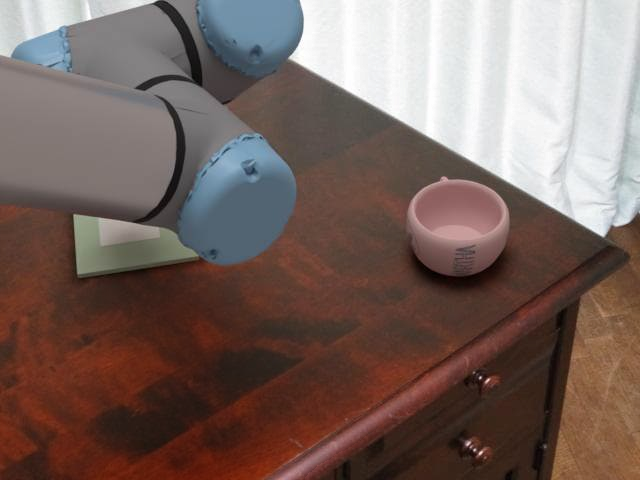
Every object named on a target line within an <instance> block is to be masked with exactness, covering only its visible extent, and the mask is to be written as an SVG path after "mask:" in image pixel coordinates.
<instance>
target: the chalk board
mask: <svg viewBox="0 0 640 480" xmlns="http://www.w3.org/2000/svg"><path fill="white" fill-rule="evenodd" d="M72 217H73V218H72V219H73V232H74V233H73V234H74V247H75V260H76V261H75V265H76V274H77V279H84V278H90V277H91V278H92V277H97V276H104V275H110V274H117V273H124V272H129V271H137V270H142V269H143V270H144V269H149V268H156V267H162V266H168V265H176V264H182V263H189V262H195V261H200V256H199V255H198V254H197V253H195V252H194V251H193V250H192V249H189V248H187V247H185V246H184V245H182V243H181V242H180V241H179V239H178V235H177V234H176V233H174V232H173V231H171V230H168V229H165V228H160V227H153V226H146V225H140V224H136V223H131V222H124V221H119V220H112V219H105V218H98V217H91V216H84V215H76V214H72Z"/></svg>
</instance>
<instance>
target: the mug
mask: <svg viewBox="0 0 640 480" xmlns="http://www.w3.org/2000/svg"><path fill="white" fill-rule="evenodd" d="M405 220H406V221H405V222H406V223H405V224H406V225H405V228H406V229H405V230H406V236H407V239H408V243H409V245H410V247H411V250H412V251H413V253H414V254H415V256H416V258H417V260H419V261H420V262H421V263H422V264H423V265H424V267H426V268H427V269H430V270H431V271H433V272H435V273H438V274H440V275H444V276H449V277H468V276H472V275H476V274H478V273H481V272H483V271H484V270H486V269H488V268H489V267H491V265H492V264H493V263H494V262H495V261H496V260H497V259H498V258H499V256H500V255H501V254H502V252H503V251H504V249H505V247H506V245H507V241H508V238H509V233H510V225H511V222H510V212H509V209H508V206H507V204H506V202H505V201H504V199H503V198H502V196H501V195H499V194H498V193H497V192H496V191H495V190H494V189H492V188H490V187H488V186H486V185H484V184H482V183H479V182H477V181H472V180H467V179H449V178H448V177H447V176H441V177H440V178H439V181H437V182H433V183H430V184H428V185H427V186H425V187H423V188H422V189H420V190H419V191H418V192H417V193H416V194H415V195H414V196H413V198H412V199H411V200H410V202H409V205H408V209H407V211H406V219H405Z"/></svg>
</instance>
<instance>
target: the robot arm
mask: <svg viewBox="0 0 640 480" xmlns="http://www.w3.org/2000/svg"><path fill="white" fill-rule="evenodd" d="M304 26H305V17H304V10H303V7H302V3H301V0H155V1H154V2H150V3H148V4H147V3H146V4H143V5H139V6H135V7H132V8H128V9H124V10H120V11H117V12H114V13H109V14H106V15H102V16H99V17H95V18H91V19H88V20H84V21H81V22H77V23H74V24H70V25H69V24H68V25H66V24H65V25H61V26H59V27H58V29H55V30H52V31H50V32H48V33H44V34H42V35H38V36H36V37H33V38H31V39H28V40H24V41H22V42H20V43H19V44H18V45H16V46H15V48H14V49H13V51H12V53H11V55H10V56H5V55H2V54H0V205H6V206H12V207H19V208H20V207H21V208H25V209H33V210H34V209H35V210H41V211H49V212H55V213H63V214H70V215H73V214H76V215H84V216H91V217H98V218H105V219H112V220H119V221H124V222H131V223H136V224H140V225H146V226H153V227H160V228H165V229H168V230H171V231H173V232H174V233H176V234H177V235H178V239H179V241H180V242H181V243H182V245H184V246H185V247H187V248H189V249H192V250H193V251H194V252H195V253H197V254H198V255H199V258H202V259H203V260H204V261H206V262H207V263H211V264H213V265H217V266H234V265H238V264H241V263H245V262H248V261H250V260H253V259H254V258H256V257H258V256H259V255H261V254H262V253H264V252H265V251H266V250H267V249H269V248H270V247H271V246H272V245H273V244H274V243H275V242H276V241H277V239H278V238H279V237H280V236H281V235H282V233H283V232H284V230H285V226H286V224H287V223H289V220H290V217H291V216H292V215H293V214H294V210H295V207H296V202H297V193H298V192H297V191H298V190H297V182H296V179H295V176H294V173H293V171H292V169H291V168H290V166H289V164H287V162H286V161H284V160H283V159H282V157H281V156H280V155H279V154H278V153H277V152H276V151H275V150H274V149H273V148H272V147H271V146H270V144H269V142H268V140H267V139H265V138H264V136H263V135H262V134H261V133H258V132H256V131H254V130H253V129H252V128H251V127H249V126H248V125H247V124H246V123H245V122H244V121H242V120H241V119H240V118H238V116H236V114H234V113H233V112H232V111H231V110H229V107H228V104H229V103H231V102H232V101H234V100H235V99H237V98H238V97H239V96H240V95H242V94H243V93H245V92H247V90H249V89H251V88H252V87H253V86H255V85H256V84H257V83H259V82H260V81H261V80H263V79H264V78H266V77H269V76H272V75H274V74H275V73H277V72H278V70H280V68H281V67H282V66H283V64H284V63H285V62H286V61H287V60H288V59H289V58H290V57H291V56H292V55H293V54H294V53H295V51H296V50H297V49H298V47H299V45H300V42H301V40H302V38H303V34H304V28H305V27H304Z"/></svg>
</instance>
